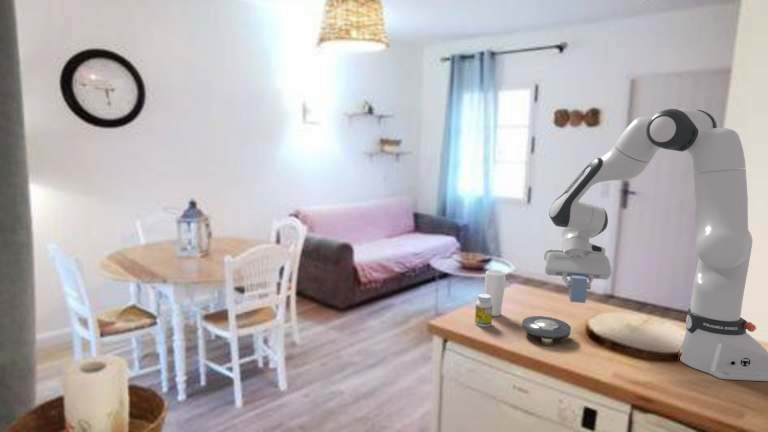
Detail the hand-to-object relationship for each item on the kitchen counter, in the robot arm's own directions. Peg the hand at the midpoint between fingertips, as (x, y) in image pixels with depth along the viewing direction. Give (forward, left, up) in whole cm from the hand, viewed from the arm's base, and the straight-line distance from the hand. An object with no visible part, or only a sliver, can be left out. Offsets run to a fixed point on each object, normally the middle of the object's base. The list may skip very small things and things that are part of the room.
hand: (578, 287), depth 149 cm
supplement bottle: (+29, +7, -13) cm, 33 cm away
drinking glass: (+26, -3, -13) cm, 29 cm away
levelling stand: (+10, +12, -13) cm, 21 cm away
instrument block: (0, -1, -4) cm, 4 cm away
